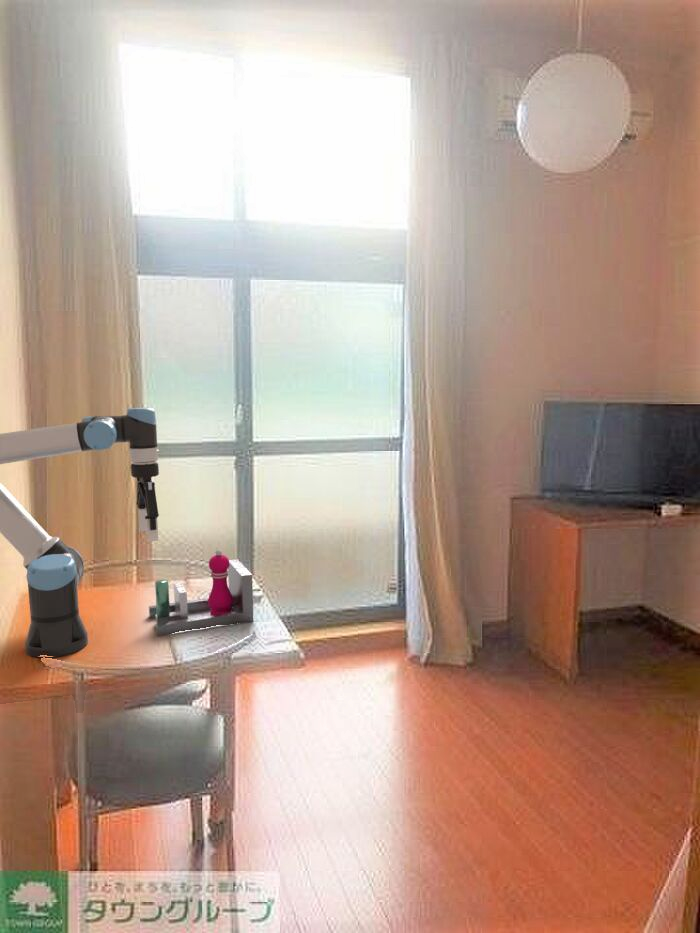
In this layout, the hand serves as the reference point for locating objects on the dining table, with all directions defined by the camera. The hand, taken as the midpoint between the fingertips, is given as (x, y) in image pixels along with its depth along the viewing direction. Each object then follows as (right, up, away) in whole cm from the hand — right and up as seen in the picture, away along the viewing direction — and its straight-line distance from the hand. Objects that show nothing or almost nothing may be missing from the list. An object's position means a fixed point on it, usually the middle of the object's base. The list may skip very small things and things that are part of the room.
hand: (148, 535), depth 194 cm
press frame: (+14, -25, +3) cm, 28 cm away
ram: (+6, -25, 0) cm, 26 cm away
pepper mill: (+20, -24, +6) cm, 32 cm away
